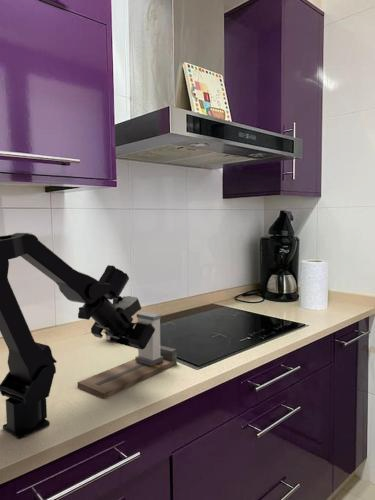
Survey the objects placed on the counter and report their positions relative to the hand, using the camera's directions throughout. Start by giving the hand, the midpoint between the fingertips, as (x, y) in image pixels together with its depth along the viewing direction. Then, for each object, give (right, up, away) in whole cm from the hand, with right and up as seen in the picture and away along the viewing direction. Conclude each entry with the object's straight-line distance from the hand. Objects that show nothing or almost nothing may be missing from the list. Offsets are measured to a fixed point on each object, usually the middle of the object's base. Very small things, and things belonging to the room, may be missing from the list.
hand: (138, 346), depth 100 cm
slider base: (-2, -7, -2) cm, 7 cm away
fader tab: (+3, -5, +4) cm, 7 cm away
